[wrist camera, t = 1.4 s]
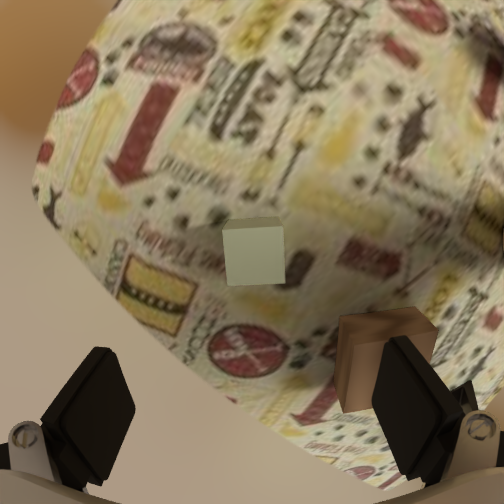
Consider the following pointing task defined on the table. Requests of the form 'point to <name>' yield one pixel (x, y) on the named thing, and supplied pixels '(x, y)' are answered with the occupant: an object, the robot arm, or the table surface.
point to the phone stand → (466, 397)
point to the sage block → (254, 251)
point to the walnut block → (374, 350)
